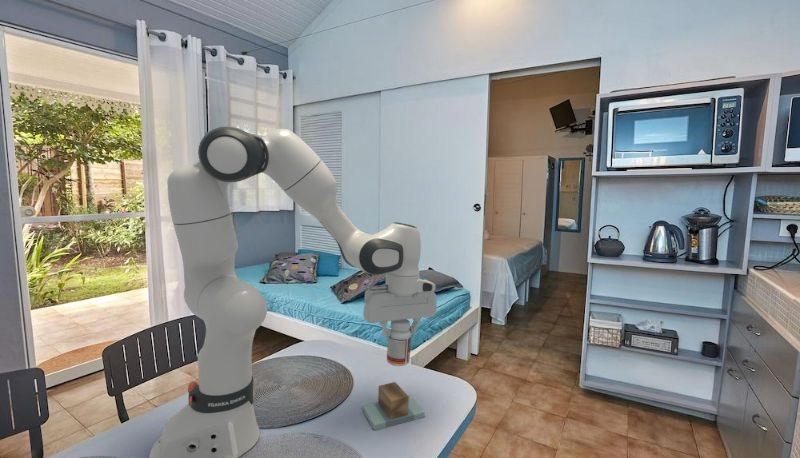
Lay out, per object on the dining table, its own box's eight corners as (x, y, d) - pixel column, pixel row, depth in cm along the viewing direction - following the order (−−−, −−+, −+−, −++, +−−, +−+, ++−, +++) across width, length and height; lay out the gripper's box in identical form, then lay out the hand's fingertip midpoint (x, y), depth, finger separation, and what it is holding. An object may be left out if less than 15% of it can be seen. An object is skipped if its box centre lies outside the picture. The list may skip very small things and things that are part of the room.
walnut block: (390, 419, 94) (391, 400, 93) (378, 403, 101) (378, 385, 101) (408, 414, 96) (408, 396, 96) (394, 398, 103) (395, 381, 103)
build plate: (374, 430, 92) (374, 425, 92) (362, 410, 100) (362, 405, 100) (424, 417, 98) (424, 412, 97) (409, 399, 106) (409, 394, 106)
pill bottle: (399, 354, 104) (402, 315, 103) (414, 363, 99) (416, 322, 98) (381, 360, 100) (384, 319, 99) (395, 369, 96) (398, 326, 94)
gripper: (369, 289, 91) (367, 344, 92) (440, 284, 100) (437, 334, 101) (360, 283, 96) (358, 335, 97) (429, 279, 105) (426, 327, 106)
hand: (399, 334), depth 99 cm, fingers closed on pill bottle, 6 cm apart
